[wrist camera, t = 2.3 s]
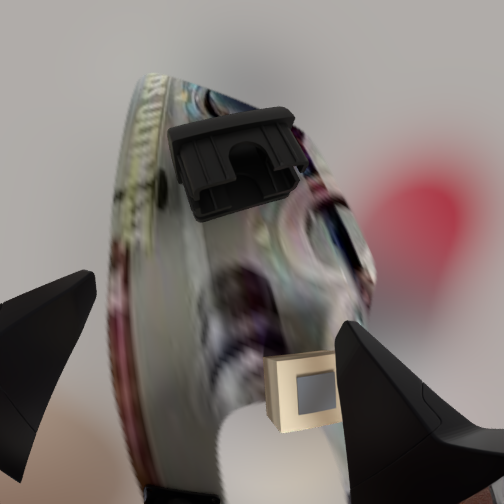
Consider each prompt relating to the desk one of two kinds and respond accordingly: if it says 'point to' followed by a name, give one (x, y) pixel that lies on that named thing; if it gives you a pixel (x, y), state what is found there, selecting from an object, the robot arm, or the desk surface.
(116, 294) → the desk surface
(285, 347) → the desk surface
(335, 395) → the beech block
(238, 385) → the desk surface
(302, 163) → the end cap
